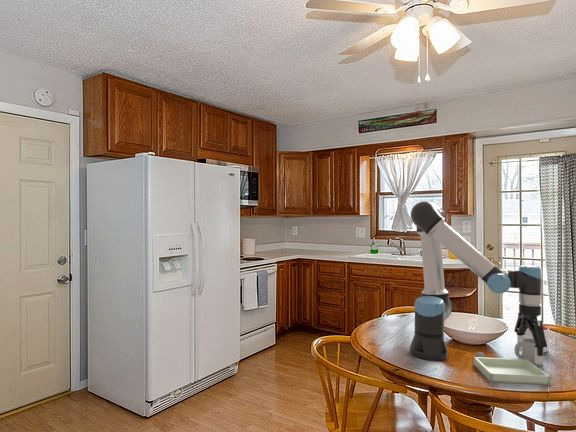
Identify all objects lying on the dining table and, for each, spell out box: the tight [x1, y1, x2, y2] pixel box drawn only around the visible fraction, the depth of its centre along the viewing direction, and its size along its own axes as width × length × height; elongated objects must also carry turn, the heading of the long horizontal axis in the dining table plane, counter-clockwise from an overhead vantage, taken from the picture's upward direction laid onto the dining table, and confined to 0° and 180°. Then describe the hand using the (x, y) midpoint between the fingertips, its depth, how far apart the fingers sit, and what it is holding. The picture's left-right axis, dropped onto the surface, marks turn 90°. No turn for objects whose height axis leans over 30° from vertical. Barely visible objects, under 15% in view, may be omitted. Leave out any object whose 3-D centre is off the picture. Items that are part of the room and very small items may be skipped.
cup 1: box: [523, 325, 550, 353], centre depth 173 cm, size 10×10×10 cm
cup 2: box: [514, 338, 545, 368], centre depth 157 cm, size 7×10×9 cm
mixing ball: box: [474, 351, 486, 357], centre depth 158 cm, size 4×4×4 cm
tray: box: [473, 356, 552, 386], centre depth 145 cm, size 20×16×3 cm
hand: (529, 357), depth 157 cm, fingers open, 13 cm apart
